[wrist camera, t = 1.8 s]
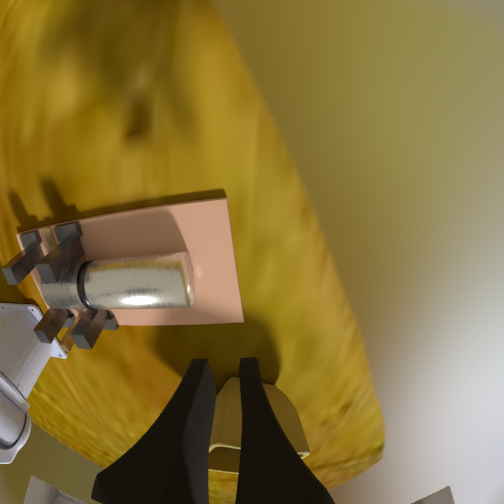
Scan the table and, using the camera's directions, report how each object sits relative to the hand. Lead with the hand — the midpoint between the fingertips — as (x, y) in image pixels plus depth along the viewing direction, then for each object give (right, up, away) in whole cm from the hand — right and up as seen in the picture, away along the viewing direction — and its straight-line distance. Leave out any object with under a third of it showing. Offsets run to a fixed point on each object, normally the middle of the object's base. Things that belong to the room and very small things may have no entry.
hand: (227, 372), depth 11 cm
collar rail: (-15, +3, +9) cm, 18 cm away
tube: (-9, +3, +8) cm, 13 cm away
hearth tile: (-10, +3, +9) cm, 14 cm away
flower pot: (+1, -10, +16) cm, 19 cm away
